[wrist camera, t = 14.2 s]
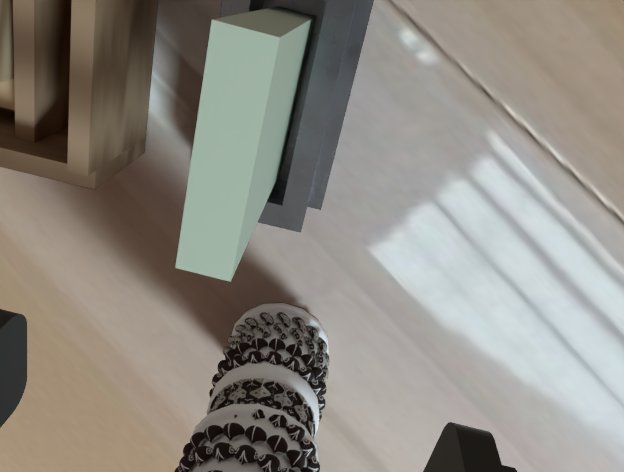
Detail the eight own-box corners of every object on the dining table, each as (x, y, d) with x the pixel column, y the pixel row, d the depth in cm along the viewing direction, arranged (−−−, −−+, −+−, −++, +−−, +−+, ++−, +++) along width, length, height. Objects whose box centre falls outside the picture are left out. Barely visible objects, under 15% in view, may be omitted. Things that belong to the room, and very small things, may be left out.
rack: (-59, -117, 33) (-198, -153, 25) (163, -62, 33) (98, -78, 25) (-44, 106, 39) (-152, 137, 31) (144, 152, 39) (87, 195, 31)
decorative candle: (340, 305, 43) (316, 654, 20) (327, 394, 47) (295, 769, 24) (228, 291, 43) (83, 618, 21) (225, 380, 47) (100, 737, 25)
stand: (235, -53, 33) (211, -61, 27) (377, -17, 33) (380, -18, 28) (203, 173, 39) (178, 202, 34) (322, 202, 39) (315, 236, 34)
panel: (278, 6, 33) (211, 19, 18) (316, 16, 33) (279, 37, 18) (248, 158, 37) (175, 268, 22) (282, 167, 37) (230, 281, 23)
